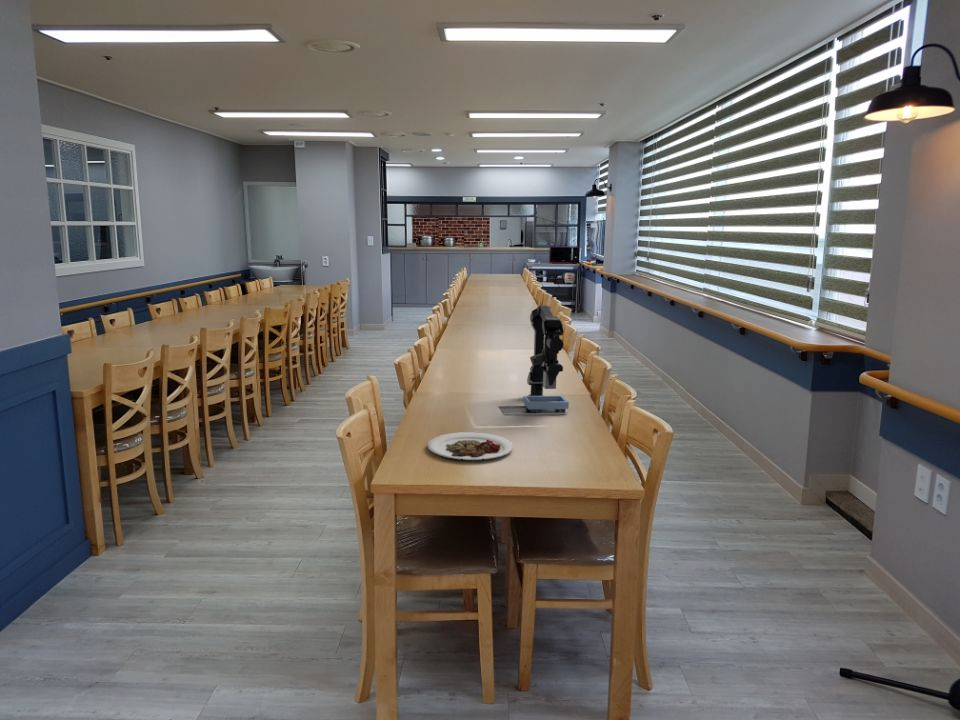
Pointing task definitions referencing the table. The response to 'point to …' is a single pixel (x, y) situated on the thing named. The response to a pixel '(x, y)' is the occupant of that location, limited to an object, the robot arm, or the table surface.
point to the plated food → (470, 446)
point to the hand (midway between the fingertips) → (549, 384)
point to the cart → (545, 402)
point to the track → (528, 411)
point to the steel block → (547, 381)
